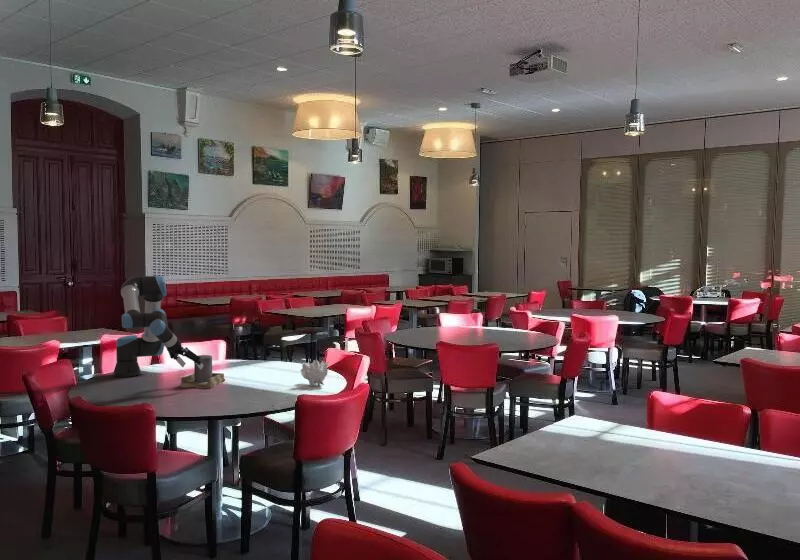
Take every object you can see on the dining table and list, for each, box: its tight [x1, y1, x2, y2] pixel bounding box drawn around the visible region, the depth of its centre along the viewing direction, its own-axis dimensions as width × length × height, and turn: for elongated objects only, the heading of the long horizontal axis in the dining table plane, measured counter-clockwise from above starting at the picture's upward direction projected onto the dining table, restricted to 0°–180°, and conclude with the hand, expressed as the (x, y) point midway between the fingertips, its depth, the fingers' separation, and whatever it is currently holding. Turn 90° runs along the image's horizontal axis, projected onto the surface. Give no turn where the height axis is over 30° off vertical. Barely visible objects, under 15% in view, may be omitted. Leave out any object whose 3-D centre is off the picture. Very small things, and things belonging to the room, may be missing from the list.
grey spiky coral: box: [300, 357, 329, 387], centre depth 373 cm, size 20×17×15 cm
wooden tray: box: [179, 372, 226, 389], centre depth 373 cm, size 18×18×5 cm
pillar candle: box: [193, 353, 213, 382], centre depth 372 cm, size 10×10×15 cm
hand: (193, 366), depth 366 cm, fingers open, 13 cm apart
